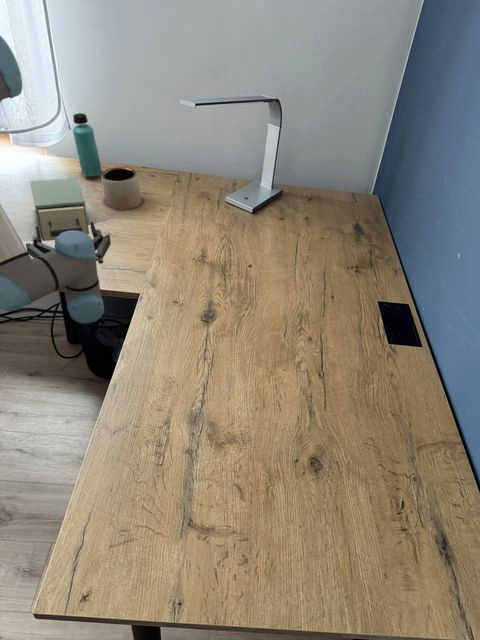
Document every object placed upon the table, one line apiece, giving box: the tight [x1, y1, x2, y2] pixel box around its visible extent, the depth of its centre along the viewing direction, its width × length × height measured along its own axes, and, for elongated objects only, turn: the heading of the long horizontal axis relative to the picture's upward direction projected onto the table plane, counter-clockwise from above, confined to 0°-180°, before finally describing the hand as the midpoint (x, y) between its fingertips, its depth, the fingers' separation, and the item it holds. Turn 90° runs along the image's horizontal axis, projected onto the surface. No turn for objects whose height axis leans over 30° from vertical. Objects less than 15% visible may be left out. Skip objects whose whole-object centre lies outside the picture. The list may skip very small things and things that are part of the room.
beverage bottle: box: [72, 112, 102, 177], centre depth 163 cm, size 6×7×20 cm
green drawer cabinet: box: [29, 177, 90, 242], centre depth 142 cm, size 15×13×11 cm
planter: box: [100, 166, 142, 210], centre depth 155 cm, size 11×11×10 cm
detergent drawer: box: [38, 205, 87, 242], centre depth 139 cm, size 20×11×9 cm, turn 23°
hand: (65, 228), depth 133 cm, fingers open, 13 cm apart
